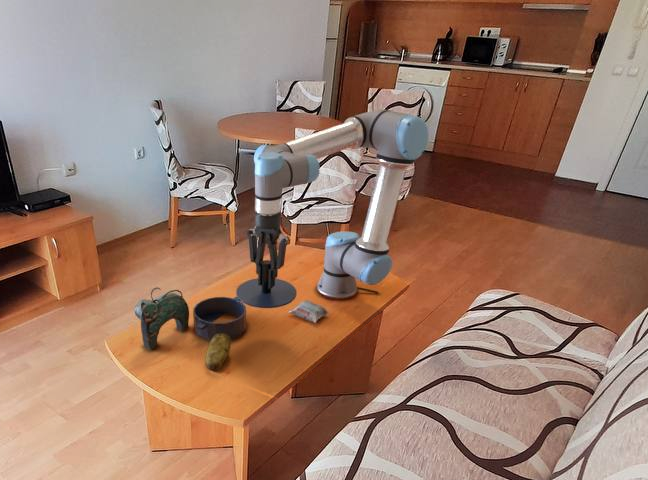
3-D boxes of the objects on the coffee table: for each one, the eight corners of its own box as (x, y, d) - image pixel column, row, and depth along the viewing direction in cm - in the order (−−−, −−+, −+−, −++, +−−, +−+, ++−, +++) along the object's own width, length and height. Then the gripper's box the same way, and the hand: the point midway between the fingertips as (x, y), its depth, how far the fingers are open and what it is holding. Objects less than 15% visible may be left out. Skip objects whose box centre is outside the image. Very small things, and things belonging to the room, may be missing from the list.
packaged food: (315, 328, 174) (316, 315, 171) (287, 316, 180) (288, 304, 177) (328, 318, 179) (330, 306, 176) (301, 307, 185) (302, 295, 182)
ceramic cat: (148, 354, 162) (140, 300, 150) (136, 346, 166) (127, 293, 154) (193, 329, 174) (189, 277, 162) (181, 322, 177) (176, 271, 166)
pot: (259, 319, 179) (260, 302, 175) (222, 351, 163) (221, 333, 159) (218, 305, 187) (218, 289, 183) (179, 334, 171) (177, 317, 167)
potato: (195, 367, 156) (193, 346, 151) (218, 347, 165) (218, 327, 160) (216, 376, 152) (215, 354, 148) (239, 355, 161) (239, 334, 156)
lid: (306, 290, 160) (309, 257, 154) (277, 316, 147) (278, 282, 141) (256, 276, 169) (256, 244, 162) (224, 299, 156) (223, 266, 149)
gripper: (299, 212, 141) (294, 286, 155) (251, 202, 148) (251, 274, 162) (286, 221, 136) (283, 297, 150) (237, 210, 143) (238, 283, 157)
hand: (266, 285), depth 156 cm, fingers closed on lid, 3 cm apart
